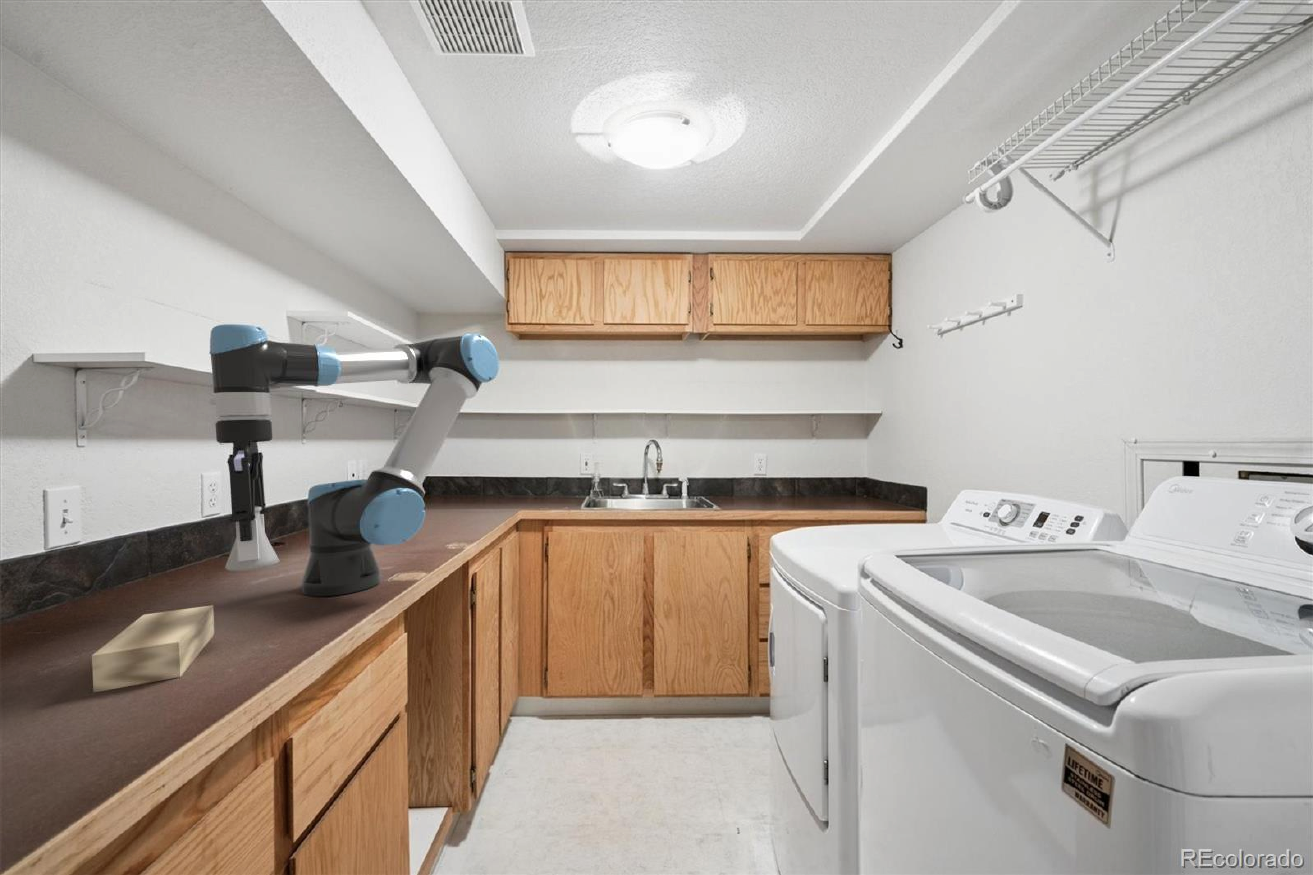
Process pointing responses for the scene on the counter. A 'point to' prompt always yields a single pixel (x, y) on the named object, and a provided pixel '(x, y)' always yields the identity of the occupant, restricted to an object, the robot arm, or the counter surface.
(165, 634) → the block
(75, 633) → the counter surface
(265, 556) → the flask
